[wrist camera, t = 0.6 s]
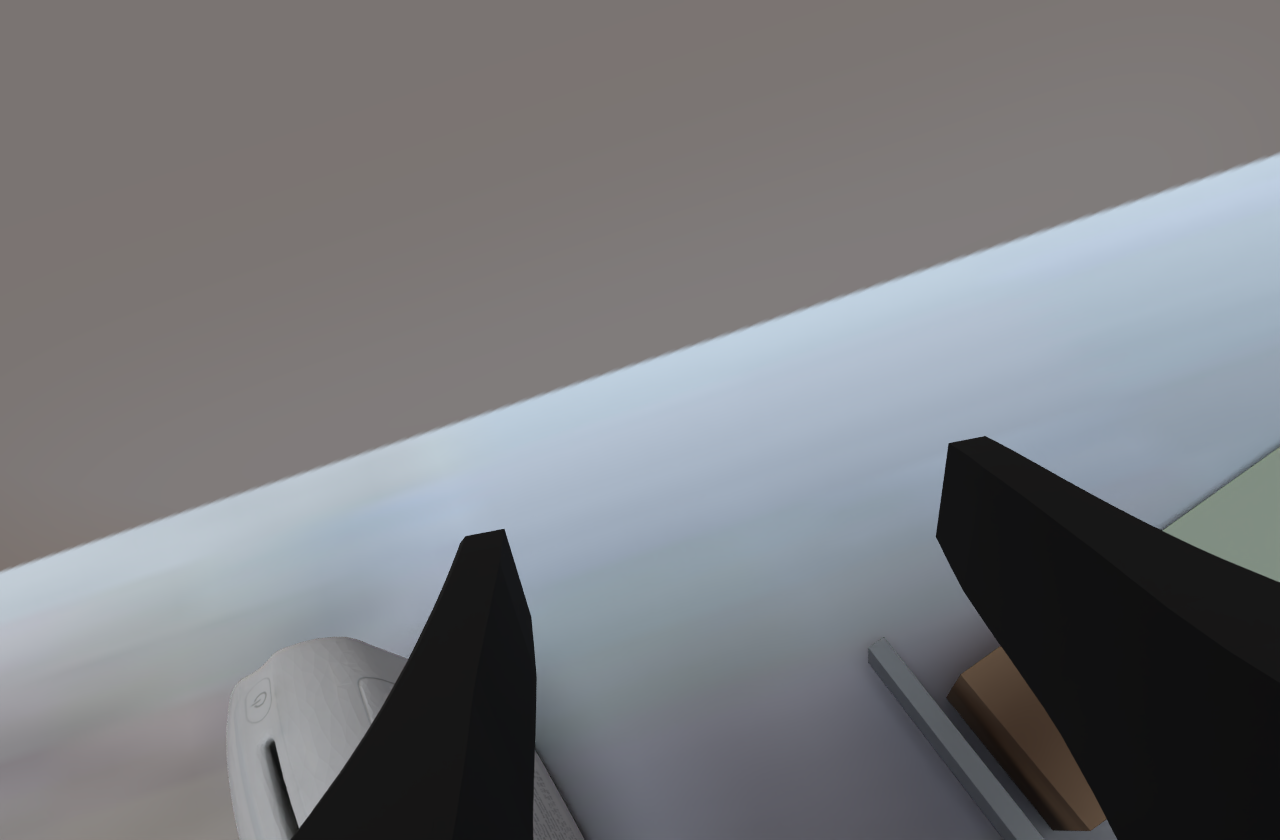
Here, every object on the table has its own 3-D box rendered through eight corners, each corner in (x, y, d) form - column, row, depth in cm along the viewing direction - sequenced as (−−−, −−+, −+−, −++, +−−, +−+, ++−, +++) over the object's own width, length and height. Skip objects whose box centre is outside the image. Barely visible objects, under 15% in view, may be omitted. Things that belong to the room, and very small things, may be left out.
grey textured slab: (409, 745, 29) (148, 699, 18) (500, 673, 29) (295, 588, 19) (541, 1033, 24) (280, 1202, 13) (650, 941, 24) (482, 1032, 13)
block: (1170, 743, 23) (1231, 726, 19) (1052, 830, 23) (1090, 830, 19) (1054, 620, 25) (1088, 583, 21) (946, 697, 25) (960, 674, 21)
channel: (1310, 820, 21) (1360, 820, 19) (1106, 973, 21) (1133, 990, 19) (1035, 543, 26) (1050, 518, 24) (868, 662, 26) (868, 647, 24)
